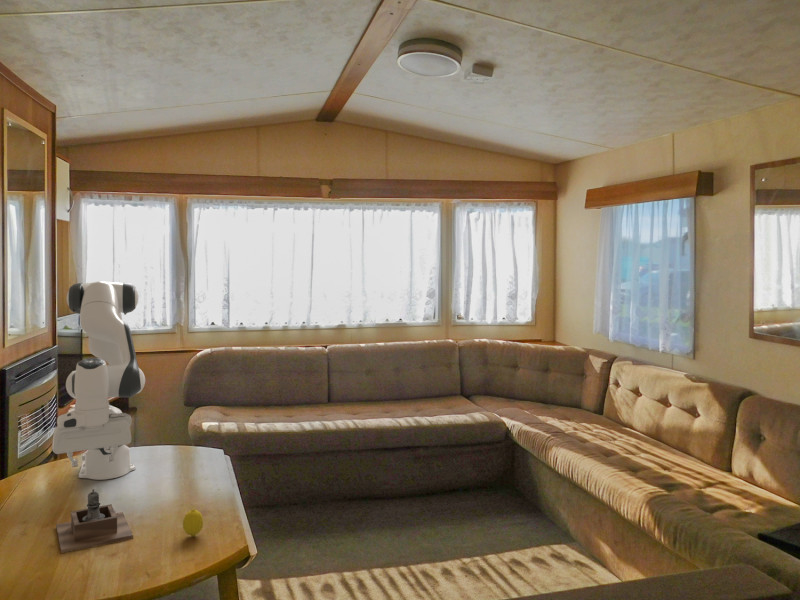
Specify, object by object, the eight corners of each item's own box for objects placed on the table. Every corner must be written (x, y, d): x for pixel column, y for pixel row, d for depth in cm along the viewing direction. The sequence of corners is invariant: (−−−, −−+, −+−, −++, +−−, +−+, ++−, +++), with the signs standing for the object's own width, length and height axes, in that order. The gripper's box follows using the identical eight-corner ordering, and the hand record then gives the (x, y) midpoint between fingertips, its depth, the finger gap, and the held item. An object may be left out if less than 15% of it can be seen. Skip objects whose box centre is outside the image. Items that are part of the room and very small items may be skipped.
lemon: (185, 532, 183) (185, 505, 183) (205, 532, 184) (205, 505, 183) (180, 541, 178) (180, 513, 177) (200, 540, 178) (200, 513, 178)
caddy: (56, 527, 184) (56, 509, 184) (122, 515, 194) (122, 497, 194) (61, 553, 169) (60, 533, 169) (132, 538, 179) (132, 519, 178)
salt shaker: (95, 535, 178) (95, 493, 177) (77, 532, 179) (77, 491, 178) (109, 526, 184) (109, 486, 183) (92, 524, 185) (91, 484, 184)
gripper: (129, 409, 187) (130, 454, 188) (51, 417, 176) (52, 465, 177) (133, 414, 182) (133, 461, 183) (52, 423, 171) (53, 473, 172)
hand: (93, 463), depth 180 cm, fingers open, 8 cm apart
